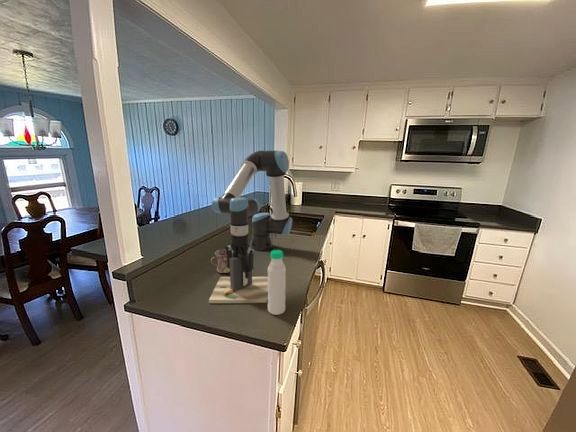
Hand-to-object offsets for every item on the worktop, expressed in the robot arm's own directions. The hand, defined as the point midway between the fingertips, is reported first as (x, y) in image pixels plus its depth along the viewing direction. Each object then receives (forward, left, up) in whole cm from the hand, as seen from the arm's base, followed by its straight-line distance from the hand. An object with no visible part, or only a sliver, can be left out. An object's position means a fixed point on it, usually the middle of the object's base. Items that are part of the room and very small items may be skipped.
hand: (240, 283), depth 108 cm
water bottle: (+15, +16, -4) cm, 22 cm away
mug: (-19, -13, -4) cm, 23 cm away
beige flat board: (0, 0, -4) cm, 4 cm away
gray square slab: (+1, -1, -2) cm, 2 cm away
